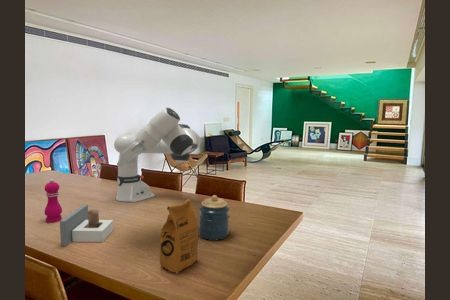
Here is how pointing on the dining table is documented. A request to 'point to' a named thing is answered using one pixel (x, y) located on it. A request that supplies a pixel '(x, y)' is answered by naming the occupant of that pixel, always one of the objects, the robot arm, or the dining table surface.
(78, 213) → the slate backstop wall
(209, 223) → the canister
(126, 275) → the dining table surface
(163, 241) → the coffee package
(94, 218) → the walnut dowel
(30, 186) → the dining table surface
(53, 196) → the pepper mill
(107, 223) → the white socket block
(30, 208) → the dining table surface
